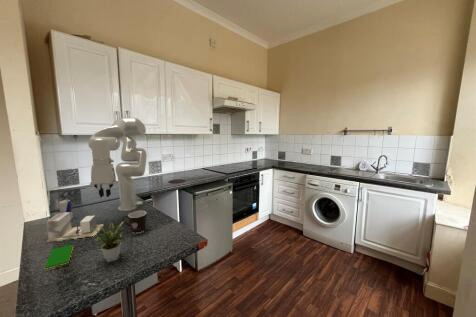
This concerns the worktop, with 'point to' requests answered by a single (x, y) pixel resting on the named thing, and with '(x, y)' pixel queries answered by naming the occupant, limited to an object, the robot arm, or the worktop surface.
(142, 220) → the coffee mug
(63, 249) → the dish sponge
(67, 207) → the energy drink
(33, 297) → the worktop surface
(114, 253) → the house plant
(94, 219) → the white rectangular block
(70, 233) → the base
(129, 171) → the robot arm
